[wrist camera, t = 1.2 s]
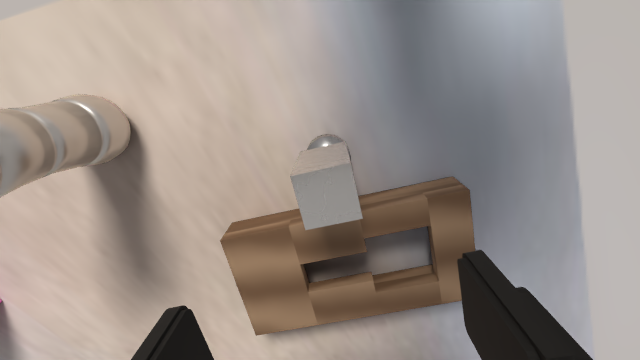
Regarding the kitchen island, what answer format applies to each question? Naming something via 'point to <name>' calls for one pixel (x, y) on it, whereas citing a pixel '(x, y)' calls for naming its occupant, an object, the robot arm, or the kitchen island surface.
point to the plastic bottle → (58, 138)
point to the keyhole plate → (342, 240)
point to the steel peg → (325, 183)
